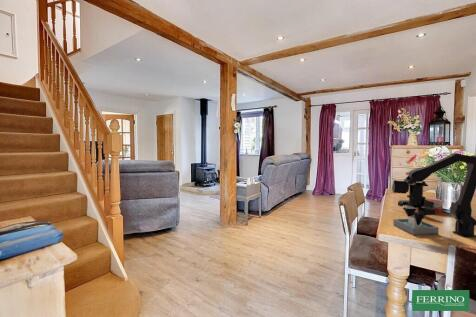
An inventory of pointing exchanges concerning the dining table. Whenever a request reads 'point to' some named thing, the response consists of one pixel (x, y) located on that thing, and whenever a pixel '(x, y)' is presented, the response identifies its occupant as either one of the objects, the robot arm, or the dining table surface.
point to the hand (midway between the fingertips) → (415, 223)
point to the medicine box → (436, 205)
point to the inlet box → (420, 230)
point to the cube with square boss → (413, 221)
